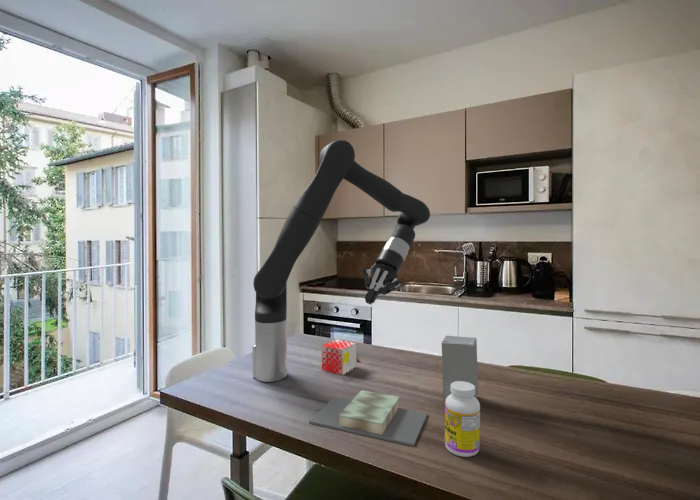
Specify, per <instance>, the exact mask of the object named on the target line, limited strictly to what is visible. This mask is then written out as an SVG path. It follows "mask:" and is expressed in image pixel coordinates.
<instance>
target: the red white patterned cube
mask: <svg viewBox="0 0 700 500" xmlns="http://www.w3.org/2000/svg"><path fill="white" fill-rule="evenodd" d="M356 357H357V343H356V342H352V341H347V340H341V339H334V340H331V341H329V342H327V343H324V344H322V345H321V371H324V370H325V372H328V371H329V373H333V374H337V375H341V374H342V375H341V376H343V375H346V372H347V373H348V372H350V371H352V370H354V369H355V368H357V361H356ZM354 367H355V368H354ZM353 368H354V369H353ZM351 369H352V370H351ZM349 370H350V371H349Z"/></svg>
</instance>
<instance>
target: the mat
mask: <svg viewBox="0 0 700 500" xmlns="http://www.w3.org/2000/svg"><path fill="white" fill-rule="evenodd" d="M353 399H354V398H353ZM353 399H352V398H347V397H341V396H336V395H335V396H334V397H332V399H331V400H330V401H329V402H328V403H327V404H325V405H324V407H322V408H321V409H320V410H319V411H318V412H317V413H316V414H315V415H314V416H313V417H312V418H311V419H310V420H309V422H308V423H309V424H311V425H316V426H320V427H325V428H329V429H334V430H338V431H341V432H342V431H343V432H347V433H351V434H356V435H361V436H364V437H365V436H366V437H369V438H374V439H379V440H383V441H387V442H392V443H397V444H401V445H406V446H409V447H415V445H416V443H417V440H418V438H419V436H420V434H421V432H422V428H424V424H425V422H426V420H427V418H428V416H429V415H428V412H425V411H424V412H423V411H419V410H418V411H417V410H413V409H407V408H402V407H401V408H400V407H399V408H398V410H397V411H396V413H395V415H394V416H393V418H392V420H391V421H390V423H389V424H388V426H387V428H386V429H385V431H384V433H383V434H382V435H381V434H376V433H372V432H367V431H362V430H358V429H353V428H349V427H344V426H339V414H340V413H341V412H342V411H343V410H344V409H345V408H346V407H347V406H348V404H349V403H350V402H351V401H352V400H353Z"/></svg>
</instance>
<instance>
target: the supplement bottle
mask: <svg viewBox="0 0 700 500" xmlns="http://www.w3.org/2000/svg"><path fill="white" fill-rule="evenodd" d="M450 391H451V393H452V394H450V395H449V396H448V397H447V398H446V401H445V402H444V405H445V409H444V410H445V411H444V444H445V448H446V449H447V450H448V452H450V453H451V454H453V455H455V456H458V457H461V458H462V457H464V458H470V457H473V456H476V455H477V454H478V453H479V451H480V438H481V437H480V436H481V435H480V432H481V431H480V430H481V429H480V427H481V420H480V419H481V404H480V403H481V402H479V399H478V398H477V399H476V398H475V397H474V395H475V386H474V385H473V384H471V383H468V382H464V381H456V382H453V383H451V385H450Z"/></svg>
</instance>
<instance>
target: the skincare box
mask: <svg viewBox="0 0 700 500" xmlns="http://www.w3.org/2000/svg"><path fill="white" fill-rule="evenodd" d="M477 341H478V339H477V337H469V336H467V337H466V336H457V335H456V336H455V335H454V336H453V335H445V337H443V339H442V341H441V360H442V361H441V363H442V364H441V365H442V366H441V367H442V393H443V395H442V397H443V398H442V400H443V401H446V398H447V397H448V396H449V395H450V394H452V393H451V391H450V385H451V383H453V382H456V381H464V382H468V383H471V384H473V385H474V386H475V395H474V397H475V398H476V399H477V400H478V397H479V396H478V395H479V382H478V381H479V380H478V379H479V378H478V377H479V375H478V374H479V373H478V344H477Z"/></svg>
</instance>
